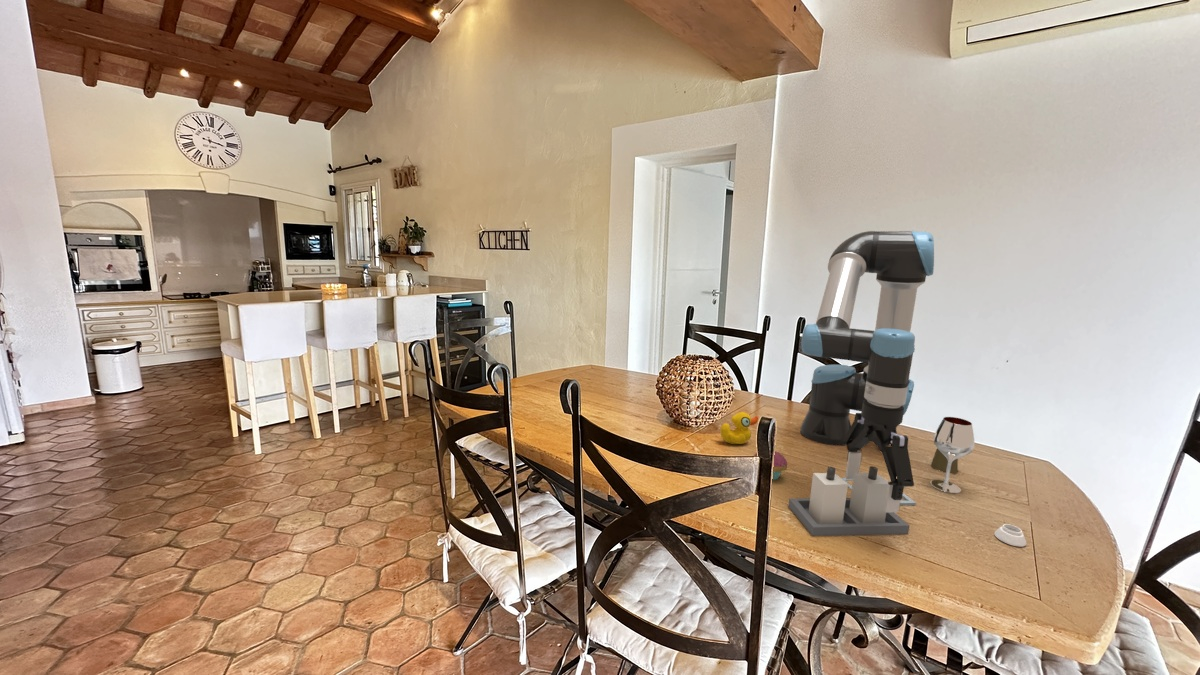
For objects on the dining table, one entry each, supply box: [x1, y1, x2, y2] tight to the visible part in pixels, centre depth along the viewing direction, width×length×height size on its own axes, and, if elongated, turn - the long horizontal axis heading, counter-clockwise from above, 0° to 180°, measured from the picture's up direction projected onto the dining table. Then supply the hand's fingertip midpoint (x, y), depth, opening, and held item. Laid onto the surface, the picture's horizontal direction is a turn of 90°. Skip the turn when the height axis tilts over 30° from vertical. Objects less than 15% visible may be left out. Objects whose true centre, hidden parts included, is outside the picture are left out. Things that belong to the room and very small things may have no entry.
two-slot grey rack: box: [788, 497, 910, 537], centre depth 102 cm, size 11×21×2 cm, turn 93°
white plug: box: [808, 466, 849, 524], centre depth 101 cm, size 5×5×12 cm
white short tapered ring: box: [994, 523, 1027, 547], centre depth 97 cm, size 5×3×5 cm
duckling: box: [720, 411, 759, 445], centre depth 141 cm, size 11×5×10 cm, turn 93°
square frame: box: [840, 477, 917, 506], centre depth 115 cm, size 12×12×1 cm
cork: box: [930, 447, 959, 474], centre depth 127 cm, size 6×6×11 cm
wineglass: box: [929, 416, 975, 494], centre depth 116 cm, size 8×8×18 cm
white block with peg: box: [849, 465, 889, 524], centre depth 101 cm, size 5×5×12 cm
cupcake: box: [753, 450, 788, 481], centre depth 120 cm, size 9×8×12 cm
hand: (869, 493), depth 101 cm, fingers open, 13 cm apart
